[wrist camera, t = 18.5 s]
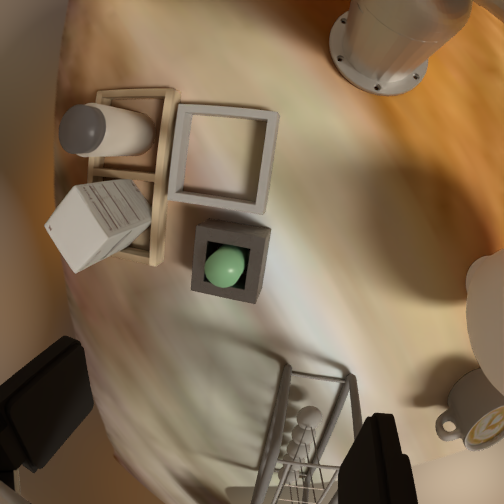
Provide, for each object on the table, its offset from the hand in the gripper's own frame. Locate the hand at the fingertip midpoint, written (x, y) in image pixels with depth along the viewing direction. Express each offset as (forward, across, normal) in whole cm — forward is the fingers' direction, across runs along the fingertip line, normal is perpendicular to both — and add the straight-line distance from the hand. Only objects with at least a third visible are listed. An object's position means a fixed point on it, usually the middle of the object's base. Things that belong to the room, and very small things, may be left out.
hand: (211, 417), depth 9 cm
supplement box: (+33, +22, +2) cm, 39 cm away
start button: (+31, +6, +5) cm, 32 cm away
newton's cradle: (+33, -9, +34) cm, 48 cm away
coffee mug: (+32, -35, +22) cm, 53 cm away
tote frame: (+32, +9, -7) cm, 34 cm away
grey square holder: (+32, +6, +5) cm, 33 cm away
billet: (+32, +22, -9) cm, 40 cm away
